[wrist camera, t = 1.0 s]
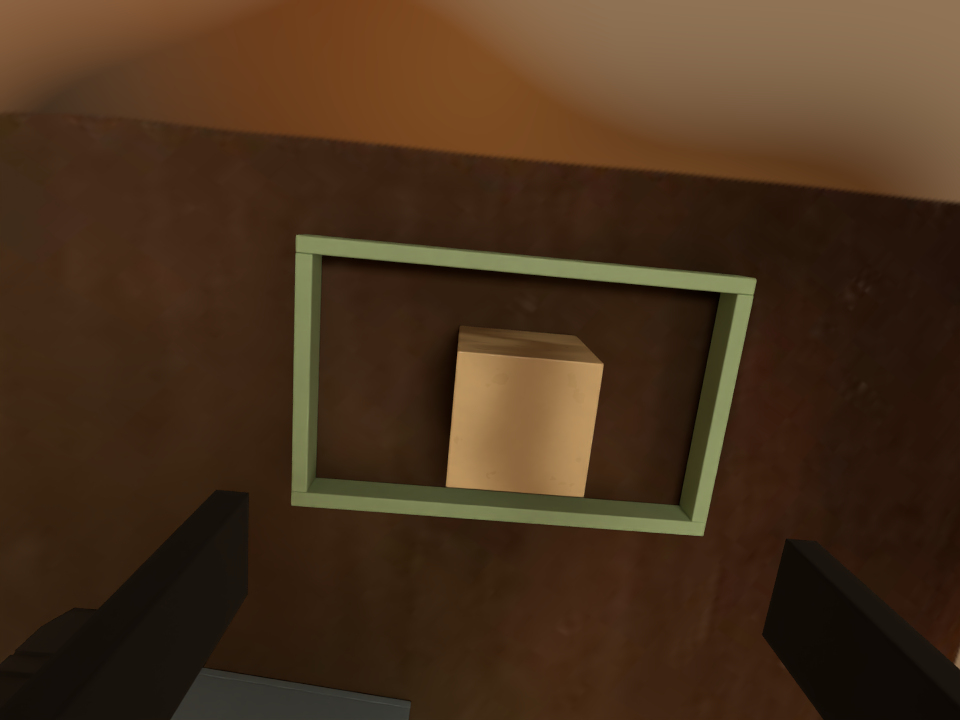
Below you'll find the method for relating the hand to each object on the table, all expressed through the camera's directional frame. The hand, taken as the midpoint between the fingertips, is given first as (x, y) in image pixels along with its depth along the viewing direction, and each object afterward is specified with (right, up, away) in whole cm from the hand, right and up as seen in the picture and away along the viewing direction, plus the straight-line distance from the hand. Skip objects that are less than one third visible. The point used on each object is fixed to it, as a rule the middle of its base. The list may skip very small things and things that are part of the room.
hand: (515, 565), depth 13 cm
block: (+1, +4, +15) cm, 16 cm away
